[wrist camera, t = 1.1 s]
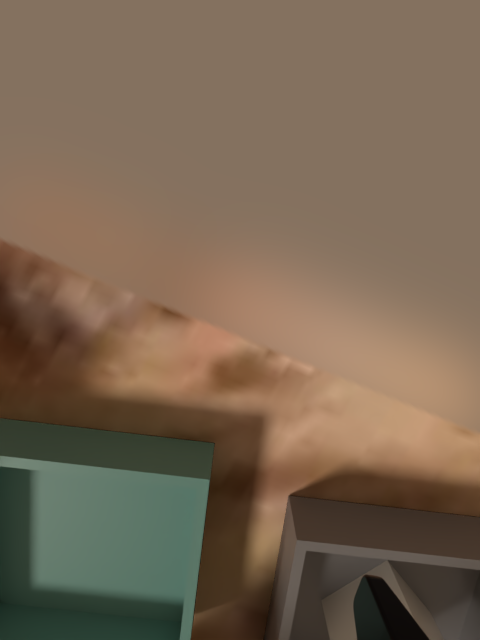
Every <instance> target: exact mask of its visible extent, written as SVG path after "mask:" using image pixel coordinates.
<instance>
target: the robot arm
mask: <svg viewBox="0 0 480 640" xmlns="http://www.w3.org/2000/svg"><path fill="white" fill-rule="evenodd" d="M353 611H354V619H355V627H356V635H357V640H430V639H429V638H428V636H427V635H426V634H425V632H424V631H423V630H422V629H421V627H420V626H419V625H418V623H417V622H416V621H415V619H414V618H413V617H412V615H411V614H410V613H409V612H408V610H407V609H406V608H405V606H404V605H403V604H402V602H401V601H400V600H399V598H398V597H397V596H396V594H395V593H394V592H393V591H392V589H391V588H390V587H389V585H388V584H387V583H386V581H385V580H384V579H383V578H381V577H379V576H374V575H368V574H365V575H364V576H363V577H362V579H361V581H360V584H359V586H358V589H357V592H356V594H355V597H354V601H353Z"/></svg>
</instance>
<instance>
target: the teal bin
mask: <svg viewBox="0 0 480 640" xmlns="http://www.w3.org/2000/svg"><path fill="white" fill-rule="evenodd" d="M214 444H215V443H209V442H200V441H191V440H183V439H174V438H166V437H157V436H148V435H140V434H131V433H123V432H114V431H105V430H97V429H88V428H80V427H71V426H62V425H54V424H45V423H37V422H28V421H20V420H11V419H2V418H0V640H191V633H192V625H193V618H194V610H195V601H196V593H197V585H198V577H199V568H200V560H201V552H202V544H203V535H204V527H205V519H206V510H207V502H208V494H209V486H210V477H211V469H212V461H213V453H214Z"/></svg>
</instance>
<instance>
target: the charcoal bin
mask: <svg viewBox="0 0 480 640" xmlns="http://www.w3.org/2000/svg"><path fill="white" fill-rule="evenodd" d="M386 560H388V562H389V563H390V564H391V565H392V566H393V568H394V569H395V570H396V571H397V573H398V574H399V575H400V576H401V577H402V579H403V580H404V581H405V582H406V583H407V585H408V586H409V587H410V588H411V590H412V591H413V592H414V593H415V594H416V596H417V597H418V598H419V599H420V600H421V602H422V603H423V604H424V605H425V607H426V608H427V609H428V610H429V611H430V613H431V615H432V617H433V619H434V621H435V623H436V625H437V627H438V629H439V631H440V633H441V635H442V637H443V638H444V640H480V517H472V516H463V515H454V514H446V513H437V512H428V511H419V510H411V509H402V508H393V507H384V506H376V505H367V504H358V503H349V502H340V501H332V500H323V499H314V498H305V497H297V496H289V497H288V502H287V508H286V514H285V520H284V526H283V531H282V537H281V543H280V549H279V554H278V560H277V566H276V572H275V578H274V583H273V589H272V595H271V601H270V607H269V612H268V618H267V624H266V630H265V635H264V640H330V638H329V633H328V629H327V624H326V620H325V615H324V611H323V606H322V601H321V600H323V599H324V598H326V597H327V596H329V595H331V594H332V593H334V592H336V591H337V590H339V589H341V588H342V587H344V586H345V585H347V584H349V583H350V582H352V581H354V580H355V579H357V578H359V577H360V576H362V575H364V574H365V573H367V572H368V571H370V570H372V569H373V568H375V567H377V566H378V565H380V564H382V563H383V562H385V561H386Z"/></svg>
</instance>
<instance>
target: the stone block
mask: <svg viewBox="0 0 480 640" xmlns="http://www.w3.org/2000/svg"><path fill="white" fill-rule="evenodd" d="M365 574H368V575H374V576H379V577H381V578H383V579H384V580H385V581H386V583H387V584H388V585H389V587H390V588H391V589H392V591H393V592H394V593H395V594H396V596H397V597H398V598H399V600H400V601H401V602H402V604H403V605H404V606H405V608H406V609H407V610H408V612H409V613H410V614H411V615H412V617H413V618H414V619H415V621H416V622H417V623H418V625H419V626H420V627H421V629H422V630H423V631H424V632H425V634H426V635H427V636H428V638H429V639H430V640H444V638H443V637H442V635H441V633H440V631H439V629H438V627H437V625H436V623H435V621H434V619H433V617H432V615H431V613H430V611H429V610H428V609H427V608H426V607H425V605H424V604H423V603H422V602H421V600H420V599H419V598H418V597H417V596H416V594H415V593H414V592H413V591H412V590H411V588H410V587H409V586H408V585H407V583H406V582H405V581H404V580H403V579H402V577H401V576H400V575H399V574H398V573H397V571H396V570H395V569H394V568H393V566H392V565H391V564H390V563H389V562H388V560H386V561H385V562H383V563H382V564H380V565H378V566H377V567H375V568H373V569H372V570H370V571H368V572H367V573H365ZM365 574H364V575H365ZM364 575H362V576H360V577H359V578H357V579H355V580H354V581H352V582H350V583H349V584H347V585H345V586H344V587H342V588H341V589H339V590H337V591H336V592H334V593H332V594H331V595H329V596H327V597H326V598H324V599H323V600H321V601H322V606H323V611H324V615H325V620H326V624H327V629H328V633H329V638H330V640H357V635H356V627H355V619H354V611H353V601H354V597H355V594H356V592H357V589H358V586H359V584H360V581H361V579H362V577H363V576H364Z"/></svg>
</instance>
